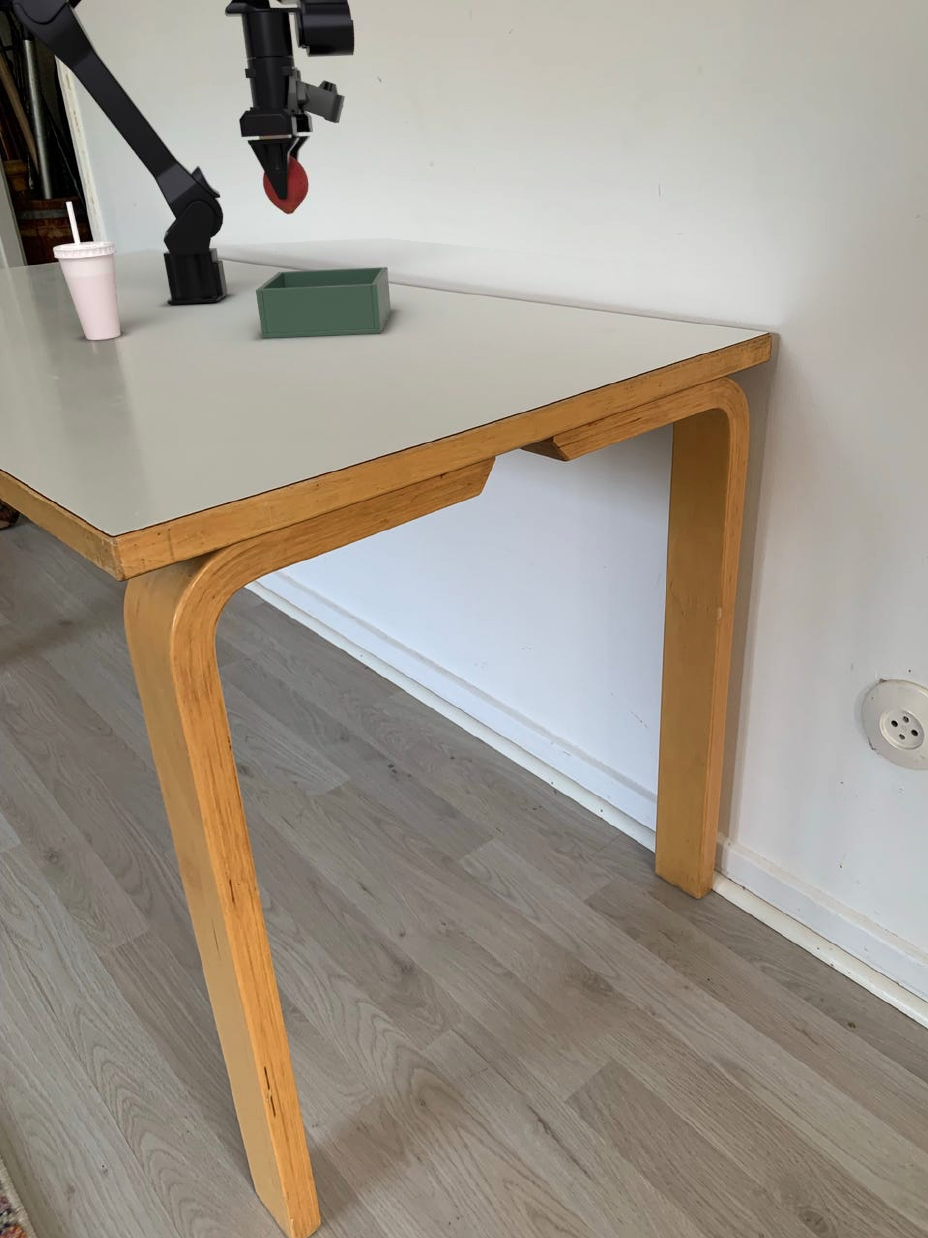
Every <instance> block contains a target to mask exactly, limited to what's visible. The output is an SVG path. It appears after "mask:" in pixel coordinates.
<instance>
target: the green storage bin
mask: <svg viewBox="0 0 928 1238" xmlns="http://www.w3.org/2000/svg"><path fill="white" fill-rule="evenodd" d="M255 293H256V301H257V308H258V309H257V310H258V316H259V322H260V328H261V329H260V330H261V336H262V339H275V338H278V339H280V338H299V337H302V338H303V337H324V336H348V335H349V336H350V335H370V334H371V335H372V334H381V333H382V331H383V329H384V327H385V324H386V323H387V321H388V318H389V316H390V314H391V311H392V309H391V296H390V284H389V271H388V267H387V266H382V267H381V266H380V267H360V268H359V267H358V268H336V269H333V268H332V269H316V270H315V269H314V270H292V271H291V270H290V271H289V270H288V271H278V272H277V273H275V274H274V275H273V276H272V277H271V278H269V279H268V280H267V281H265V282H264V283H263V284H262V285H260V286H259V287H257V289H255Z"/></svg>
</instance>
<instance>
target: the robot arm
mask: <svg viewBox="0 0 928 1238" xmlns="http://www.w3.org/2000/svg"><path fill="white" fill-rule="evenodd" d="M82 1H83V0H12V8H13V11H14V13H15V16H16V17H17V19H18V21H19V22H20V23H21V24H22V25H23V26H24V27H25V28H26V30H28V31H29V32H30V33H31V34H32V35H33V36H34V37H35V38H36V39H37V40H38V41H39V42H40V43H41V44H43V46H44V47H45V48H46V49H47V50H49V51H50V52H51V53H52V54H53V55H54V56H55V57H56V58H57V59H59V61H60V62H61V63H62V64H64V65H65V67H67V68H68V69H69V70H70V71H71V73H73V75H74V76H75V77H76V79H77V80H78V81H79V83H80V85H82V87H83V88H84V89H85V90H86V92H87V93H88V94H89V95H90V97H91V98H92V100H93V101H94V102H95V103H96V105H97V106H98V107H99V108H100V109H101V111H102V113H104V115H105V116H106V118H107V119H108V120H109V121H110V122H111V124H112V125H113V126H114V128H115V129H116V131H117V132H118V133H119V134H120V136H121V137H122V139H124V141H125V142H126V143H127V145H128V146H129V147H130V149H131V150H132V151H133V153H134V154H135V155H136V156H137V158H138V159H139V160H140V162H141V163H142V164H143V165H144V167H145V168H146V169H147V171H148V172H149V174H150V175H151V176H152V177H153V179H154V181H155V182H156V185H157V186H158V189H159V190H160V192H161V195H162V196H163V198H164V200H165V202H166V204H167V205H168V208H169V209H170V211H171V213H172V215H173V217H174V218H175V219H174V220H173V222H172V223H171V225H170V226H169V227H168V228H167V229H166V231H165V233H164V236H163V240H162V241H163V243H164V245H165V246H166V249H167V251H165V252H163V255H162V256H163V259H164V266H165V271H166V276H167V282H168V288H169V293H170V298H169V299H168V300H167V305H182V304H183V305H184V304H186V305H187V304H204V303H206V304H207V303H208V304H209V303H217V302H219V301H220V300H222V299H223V298H224V297H226V296H227V295H228V287H227V279H226V275H225V267H224V261H223V260H222V259H219V256H218V249H217V247H211V240H212V238H213V237H215V236H217V234H218V233H219V232H220V231H221V229H222V227H223V225H224V212H223V208H222V205H221V202H220V201H219V199H221V194H220V191H218V190H217V189H215V188H214V187H212V185H211V184H210V183H209V181H208V180H207V178H206V176H205V174H204V173H203V171H202V168H201V167H200V165H196V167H195V168H194V169H193V170H192V171H190V170H189V169H188V168H187V167H185V165H184V164H183V163H181V161H180V160H178V159H177V158H176V156H175V155H174V154H173V152H172V151H171V149H170V148H169V147H168V145H167V144H166V143H165V141H164V140H163V139H162V138H161V136H160V135H159V134H158V132H157V131H156V130H155V128H154V127H153V125H152V124H151V123H150V122H149V120H148V119H147V118H146V115H144V114H143V112H142V111H141V110H140V108H139V107H138V106H137V104H136V103H135V101H134V100H133V99H132V98H131V96H130V95H129V94H128V92H127V91H126V89H125V88H124V87H123V85H122V84H121V82H119V80H118V79H117V78H116V76H115V75H114V73H113V72H112V71H111V69H110V68H109V66H108V65H107V64H106V63H105V61H104V60H103V59H102V58H101V56H100V55H99V53H98V51H97V49H96V48H95V46H94V44H93V42H92V40H91V38H90V35H89V34H88V32H87V30H86V29H85V26H84V25H83V24H84V23H82V21H81V19H80V17H79V15H78V14H77V11H76V10H75V9H77V7H78V6H79V5H80V4H81V2H82ZM275 1H276V2H278V3H279V4H280V5H283V6H286V5H287V6H289V5H290V6H291V5H292V6H294V5H296V6H295V7H292V6H291V7H272V6H271V3H270V0H231V1H230V3H229V4H227V6H225V9H224V15H225V17H227V18H233V17H241V25H242V33H243V41H244V48H245V55H246V63H247V68H246V67H245V68H244V75H245V79H247V80H249V86H250V95H251V103H252V106H250V107H249V110H245V111H243V113H242V115H241V117H239V119H238V122H239V129H240V130H239V131H240V136H241V138H251V137H258V139H248V140H247V144H248V145H249V146H250V148H251V150H252V151H253V153H254V155H255V157H256V159H257V161H258V162H259V164H260V166H261V168H262V171H263V173H264V172H265V174H266V176H267V177H268V179H269V181H270V183H271V185H272V187H273V189H274V191H275V193H276V195H277V197H278V198H279V199H280V200H286V199H287V198H288V180H289V155H290V156H292V157H293V158H295V159H296V160H297V161H298V162H299V158H300V157H299V156H300V151H301V149H302V148H303V146H304V145H305V144H306V143H307V141H309V139H310V137H311V135H300V133H313V132H314V127H313V119H312V118H313V117H312V116H311V114H312V115H316V116H319V117H321V118H323V119H324V120H325V121H328V122H330V123H334V124H339V123H340V120H341V115H342V111H343V109H344V102H345V98H346V96H344V95H342V94H339V92H338V86H337V84H336V83H333V82H330V81H327V80H324V79H323V80H322V82H321V83H320V84H319V85H318V86H316V85H314V84H311V83H308V82H305V81H303V80H302V74H301V70H300V69H298V67H296V64H295V56H294V48H293V38H292V27H291V19H290V16H293V21H294V32H295V40H296V46H297V48H299V49H302V50H305V51H306V56H307V57H308V58H317V57H318V58H319V57H345V56H354V53H355V27H354V26H355V25H354V20H353V19H352V15H351V9H350V5H349V2H348V0H275ZM309 113H310V114H309Z"/></svg>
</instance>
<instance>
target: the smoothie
mask: <svg viewBox="0 0 928 1238" xmlns="http://www.w3.org/2000/svg"><path fill="white" fill-rule="evenodd" d="M65 204H66V208H67V213H68V217H69V222H70V226H71V231H72V237H73V241H74V242H73V243H65V244H60V245H56V246H54V247H53V249H52V251H53V254H54V258H55V259H57V260H58V262H59V266H60V268H61V271H62V273H63V276H64V279H65V282H66V285H67V288H68V291H69V293H70V296H71V299H72V302H73V305H74V307H75V310H76V314H77V316H78V319H79V321H80V324H81V328H82V330H83V332H84V335H85V339H86V340H90V341H100V340H101V341H102V340H109V339H114V338H117V337H120V336H121V335H122V334H121V324H120V311H119V302H118V301H119V300H118V290H117V289H118V287H117V280H116V279H117V277H116V265H115V255H114V254H116V253H117V250H116V246H115V242H112V241H106V240H105V241H86V242H85V241H83V242H81V239H80V234H79V230H78V226H77V221H76V216H75V212H74V206H73V203H72V201H66V202H65Z"/></svg>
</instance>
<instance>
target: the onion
mask: <svg viewBox="0 0 928 1238" xmlns="http://www.w3.org/2000/svg"><path fill="white" fill-rule="evenodd" d="M309 184H310V183H309V178H308V174H307V171H306V170H305V167H304V166H303V165H302V164H301V163H300V161H299V160H298V161H297V160H296V159H295V158H293V157H292V156H290V155H289V180H288V198H287V199H286V200H280V199H279V198H278V197H277V195H276V193H275V191H274V189H273V187H272V185H271V183H270V181H269V179H268V177H267V176H266V174H265V172H264V171H263V176H262V187H263V190H264V193H265V195H266V196H267V198H268V200H269V201H270V202H271V204H273V205H274V206H275V207H276V208H278V209H279V210H280V211H281V212H283V213H284V214H286V215H291V214H294V213H295V211H296V210H297V209H298V208H299V206H300V205H301V204H302V203H303V202H304V201H305V199H306V197H307V195H308V192H309V186H310V185H309Z"/></svg>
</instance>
